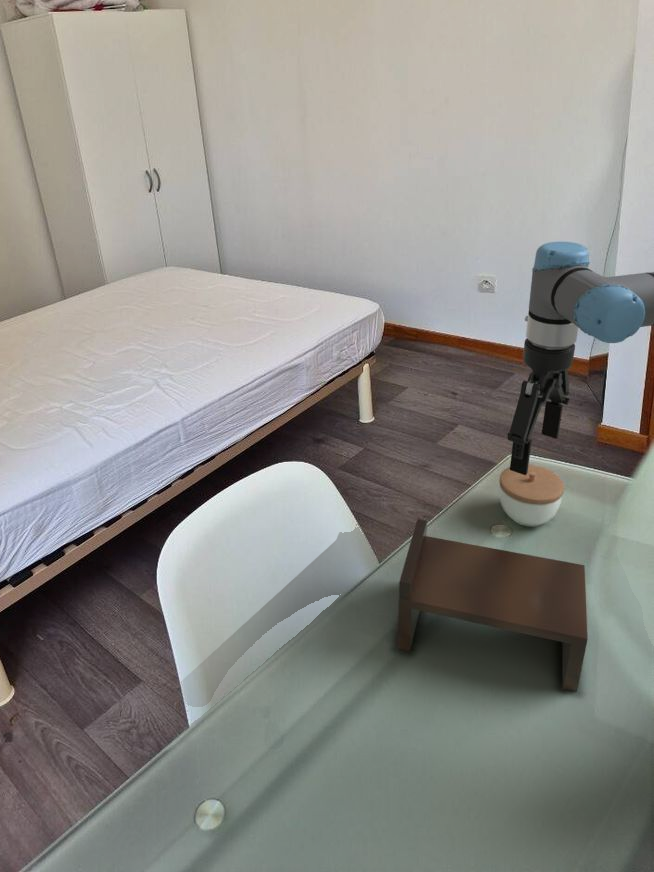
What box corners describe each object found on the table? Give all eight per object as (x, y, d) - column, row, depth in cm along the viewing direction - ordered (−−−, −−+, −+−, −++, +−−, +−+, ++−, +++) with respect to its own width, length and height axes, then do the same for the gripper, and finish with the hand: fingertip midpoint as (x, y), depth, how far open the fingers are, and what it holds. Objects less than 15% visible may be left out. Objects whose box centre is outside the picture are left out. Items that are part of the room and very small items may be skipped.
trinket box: (564, 537, 118) (571, 493, 114) (500, 534, 120) (505, 490, 116) (552, 499, 128) (558, 457, 124) (492, 497, 129) (497, 455, 125)
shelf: (575, 616, 103) (587, 548, 97) (576, 693, 91) (591, 621, 85) (414, 583, 111) (417, 518, 105) (397, 649, 99) (399, 581, 93)
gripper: (555, 310, 119) (541, 416, 129) (493, 363, 102) (481, 480, 112) (600, 319, 115) (582, 428, 124) (543, 376, 98) (526, 496, 108)
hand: (534, 453), depth 118 cm, fingers open, 13 cm apart
